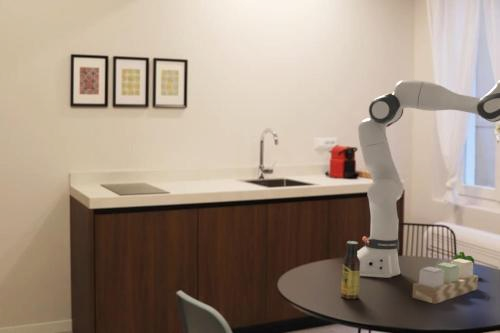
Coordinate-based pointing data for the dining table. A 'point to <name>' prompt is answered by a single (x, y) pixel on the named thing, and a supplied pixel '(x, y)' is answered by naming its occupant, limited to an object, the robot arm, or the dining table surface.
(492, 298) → the dining table surface
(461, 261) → the cream key
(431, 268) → the grey key
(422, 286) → the keypad housing
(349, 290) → the sauce bottle
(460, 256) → the bell pepper
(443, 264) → the sage key
